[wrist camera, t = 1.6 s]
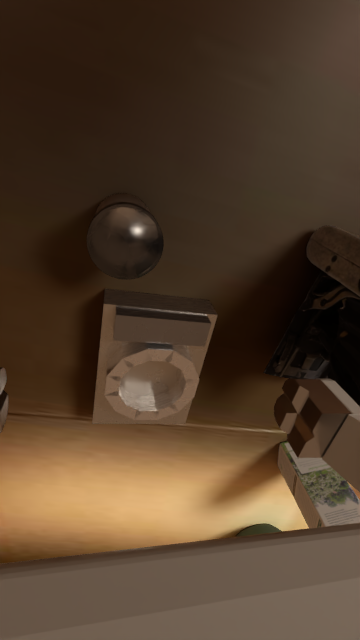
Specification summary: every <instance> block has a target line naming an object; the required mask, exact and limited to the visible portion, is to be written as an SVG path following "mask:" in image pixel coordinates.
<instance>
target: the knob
mask: <svg viewBox="0 0 360 640" xmlns="http://www.w3.org/2000/svg"><path fill="white" fill-rule="evenodd" d="M87 248H88V252H89V255H90V257H91V259H92V261H93V262H94V263H95V265H96V266H97V267H98V268H99V269H100V270H101V271H103V272H104V273H106V274H107V275H109V276H112V277H114V278H118V279H135V278H139V277H141V276H143V275H145V274H147V273H149V272H150V271H151V270H152V269H153V268H154V267H155V266H156V265H157V263H158V262H159V260H160V258H161V255H162V251H163V235H162V232H161V229H160V227H159V225H158V223H157V221H156V219H155V218H154V217H153V215H152V214H151V213H150V212H149V209H148V208H147V206H146V205H145V204H144V202H143V201H141V200H140V199H139V198H137V197H136V196H134V195H131V194H128V193H116V194H112V195H110V196H108V197H107V198H105V199H104V200H103V201H102V202H101V203H100V204H99V206H98V208H97V210H96V213H95V216H94V218H93V219H92V221H91V223H90V226H89V229H88V233H87Z"/></svg>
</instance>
